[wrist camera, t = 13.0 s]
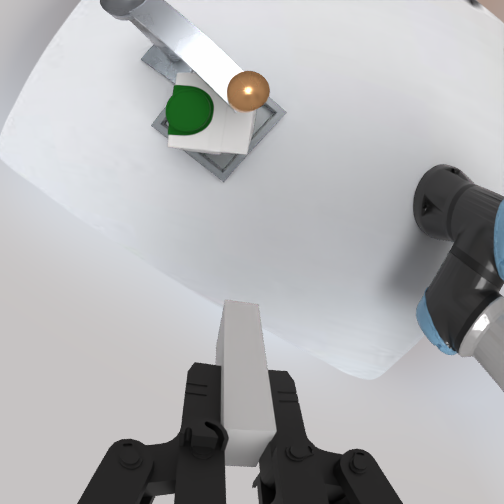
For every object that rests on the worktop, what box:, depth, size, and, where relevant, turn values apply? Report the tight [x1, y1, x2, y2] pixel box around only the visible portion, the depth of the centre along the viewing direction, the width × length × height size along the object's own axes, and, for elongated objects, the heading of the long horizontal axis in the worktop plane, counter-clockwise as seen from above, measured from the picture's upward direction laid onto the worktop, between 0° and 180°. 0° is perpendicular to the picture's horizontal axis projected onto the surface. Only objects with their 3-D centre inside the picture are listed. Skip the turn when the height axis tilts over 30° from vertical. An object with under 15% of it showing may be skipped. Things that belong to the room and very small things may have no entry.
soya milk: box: [165, 73, 257, 155], centre depth 33 cm, size 9×9×20 cm
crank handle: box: [100, 0, 270, 113], centre depth 15 cm, size 17×4×6 cm, turn 42°
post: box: [130, 19, 193, 83], centre depth 26 cm, size 8×8×23 cm
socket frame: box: [151, 97, 287, 182], centre depth 40 cm, size 14×14×3 cm
